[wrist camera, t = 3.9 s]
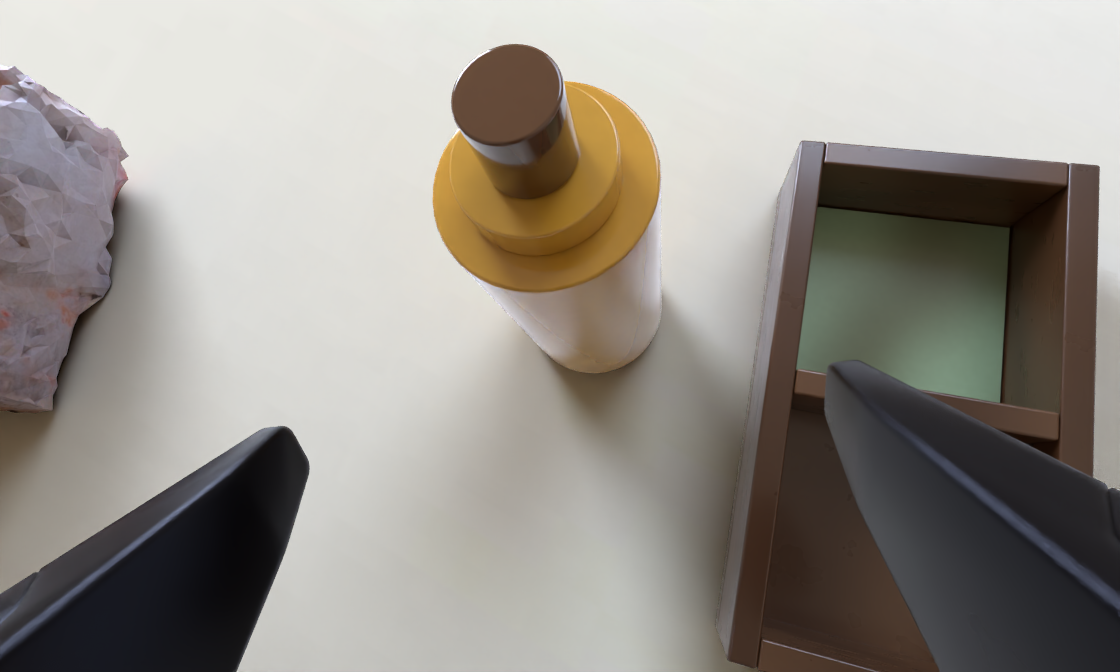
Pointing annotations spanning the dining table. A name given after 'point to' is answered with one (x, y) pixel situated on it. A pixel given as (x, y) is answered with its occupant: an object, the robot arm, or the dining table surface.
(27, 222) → the red crystal topped stone
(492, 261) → the bottle
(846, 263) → the brown divided tray
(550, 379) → the dining table surface
